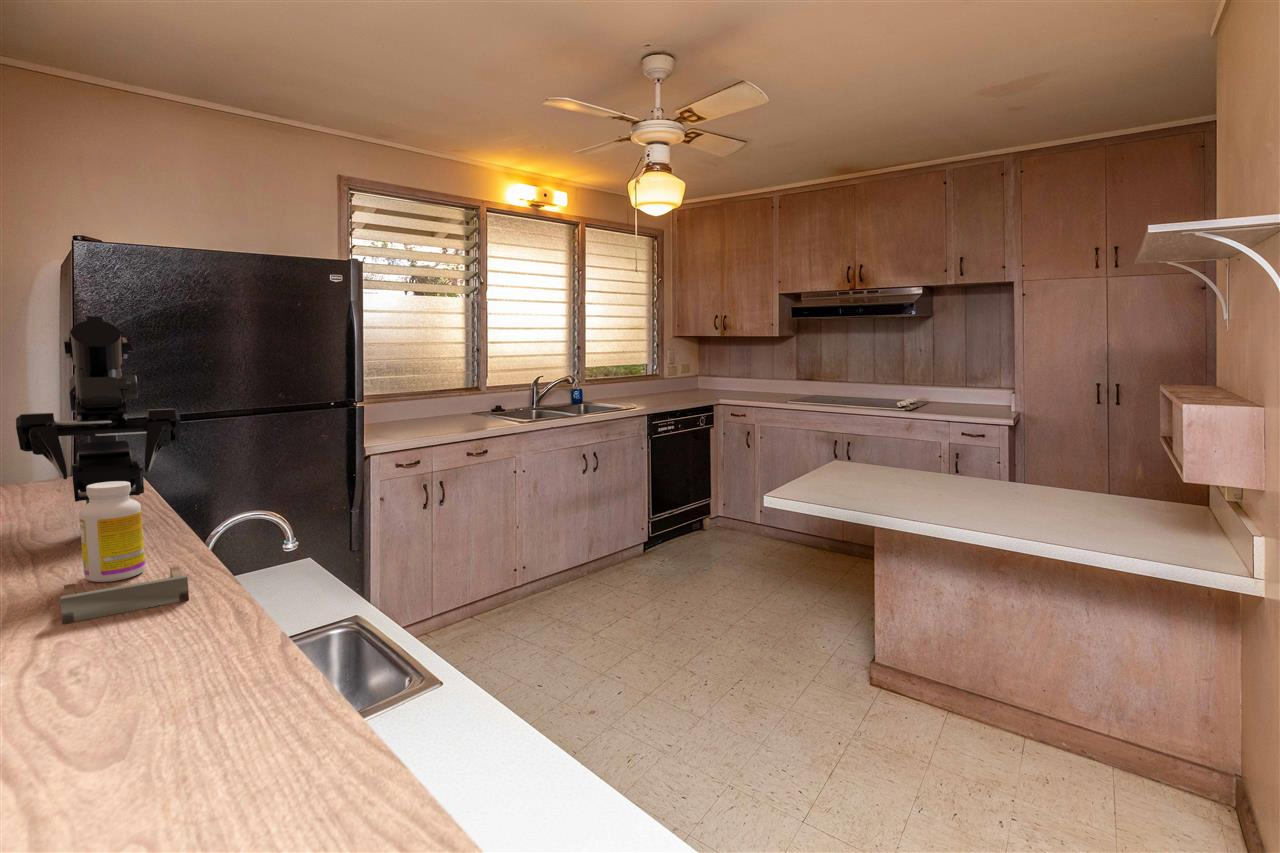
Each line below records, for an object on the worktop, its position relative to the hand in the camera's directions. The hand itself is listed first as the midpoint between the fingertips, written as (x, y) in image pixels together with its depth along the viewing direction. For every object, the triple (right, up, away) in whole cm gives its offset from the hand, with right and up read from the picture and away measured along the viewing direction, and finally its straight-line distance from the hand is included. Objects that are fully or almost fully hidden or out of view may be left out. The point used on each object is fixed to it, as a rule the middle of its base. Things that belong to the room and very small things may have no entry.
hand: (107, 474), depth 94 cm
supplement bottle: (+4, -14, -4) cm, 15 cm away
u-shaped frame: (+12, -15, -11) cm, 22 cm away
